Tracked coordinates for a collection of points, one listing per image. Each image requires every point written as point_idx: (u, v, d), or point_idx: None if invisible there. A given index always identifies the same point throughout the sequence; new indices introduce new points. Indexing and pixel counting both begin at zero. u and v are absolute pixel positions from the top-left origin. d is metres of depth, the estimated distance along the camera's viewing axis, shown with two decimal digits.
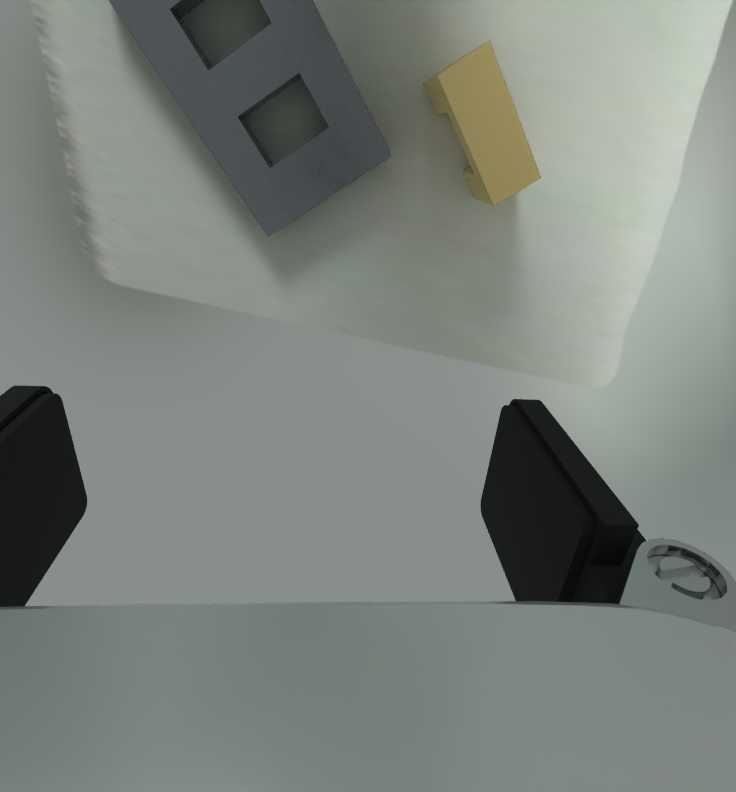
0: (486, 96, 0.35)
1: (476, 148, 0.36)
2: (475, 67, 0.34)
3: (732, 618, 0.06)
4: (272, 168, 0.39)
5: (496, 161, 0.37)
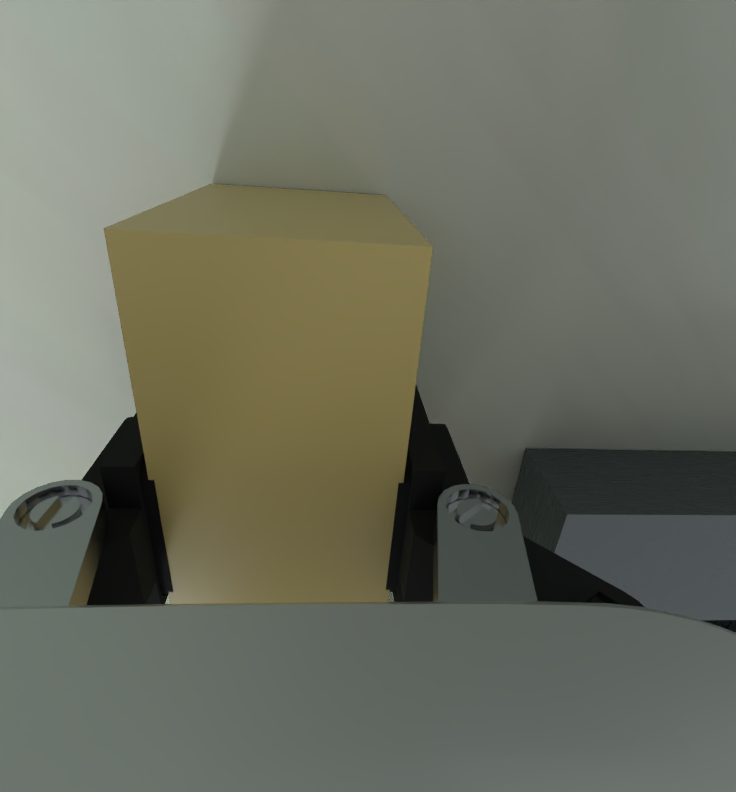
0: None
1: (370, 514, 0.08)
2: None
3: (519, 537, 0.07)
4: None
5: (315, 434, 0.07)
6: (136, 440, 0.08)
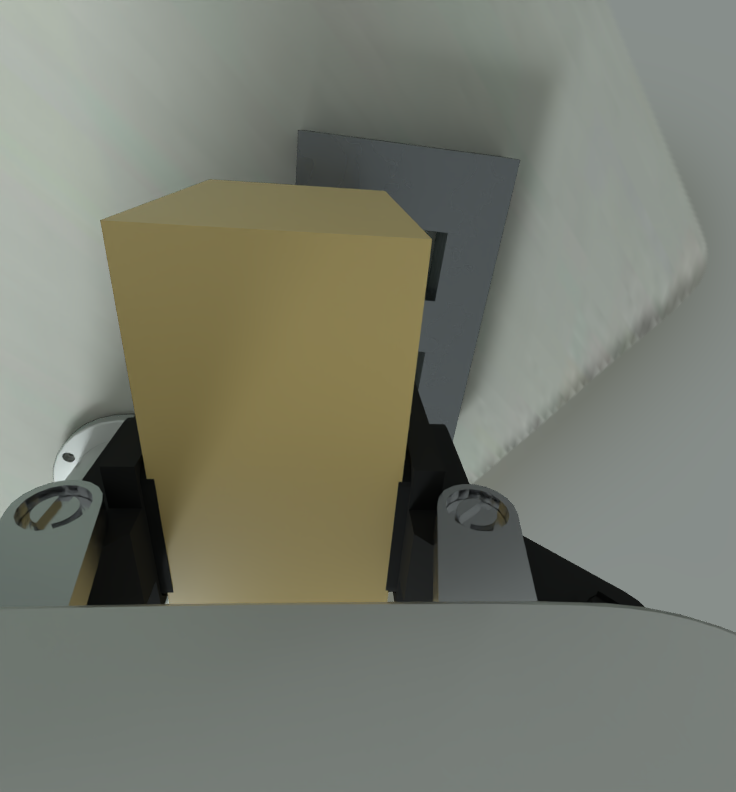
0: None
1: (369, 510, 0.08)
2: None
3: (519, 537, 0.07)
4: (445, 230, 0.28)
5: (314, 429, 0.07)
6: (136, 440, 0.08)
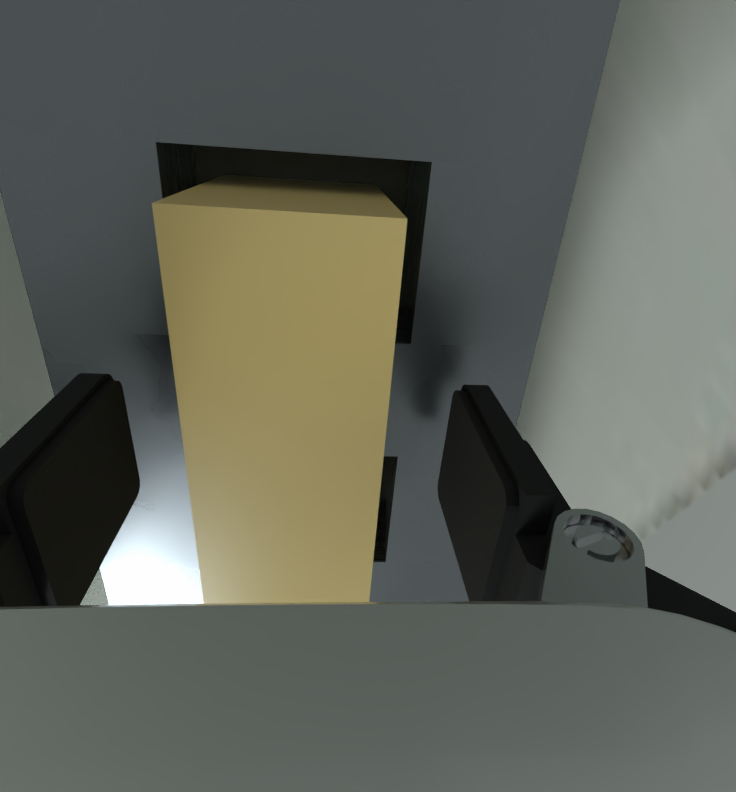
0: (265, 543, 0.11)
1: (360, 446, 0.10)
2: None
3: (641, 575, 0.06)
4: (424, 154, 0.10)
5: (315, 374, 0.09)
6: (9, 459, 0.07)
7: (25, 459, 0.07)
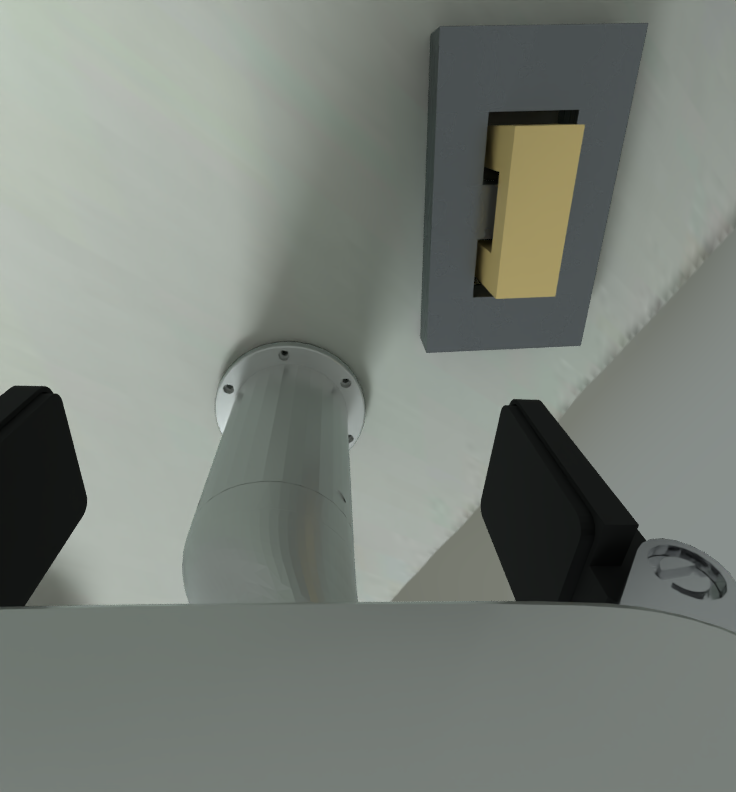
0: (524, 253, 0.31)
1: (562, 208, 0.30)
2: (519, 284, 0.32)
3: (732, 618, 0.06)
4: (576, 107, 0.30)
5: (551, 180, 0.29)
6: None
7: None
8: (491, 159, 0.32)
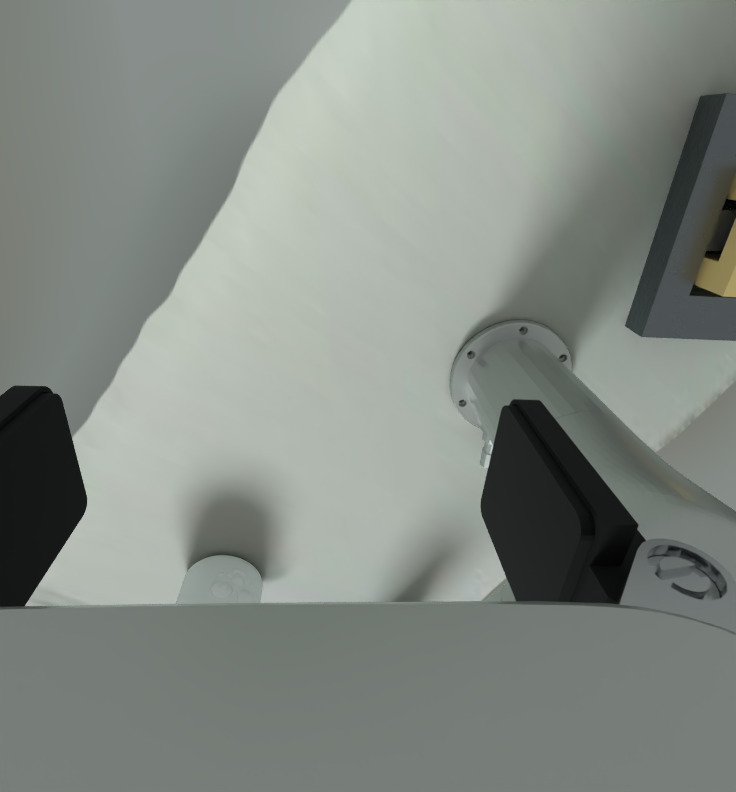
0: None
1: None
2: None
3: (732, 618, 0.06)
4: None
5: None
6: None
7: None
8: None
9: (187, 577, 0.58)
